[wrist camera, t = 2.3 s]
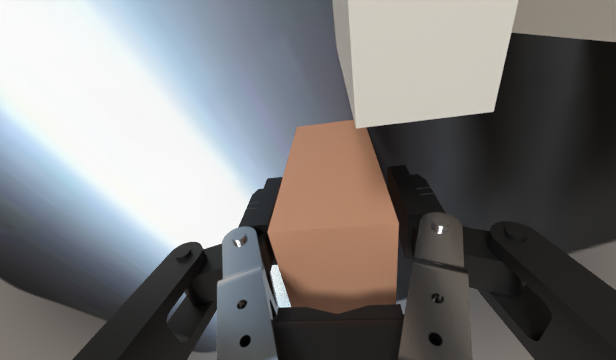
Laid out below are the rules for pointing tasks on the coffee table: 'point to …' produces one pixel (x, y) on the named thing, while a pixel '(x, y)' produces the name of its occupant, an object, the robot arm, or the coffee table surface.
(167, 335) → the robot arm
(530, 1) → the domino
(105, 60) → the coffee table surface
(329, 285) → the domino
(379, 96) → the domino
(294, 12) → the coffee table surface
